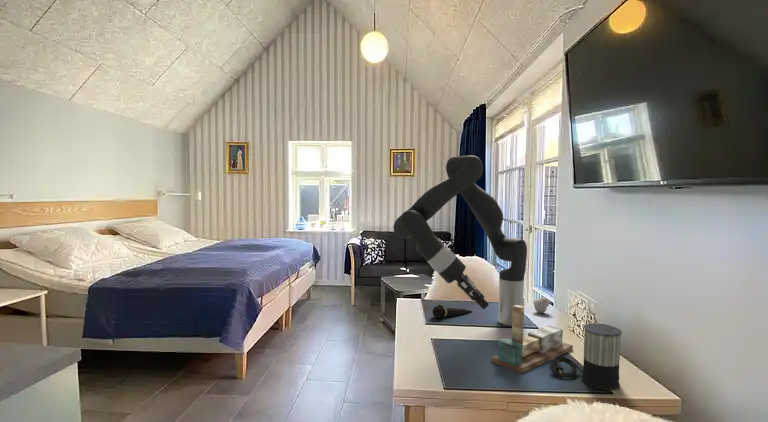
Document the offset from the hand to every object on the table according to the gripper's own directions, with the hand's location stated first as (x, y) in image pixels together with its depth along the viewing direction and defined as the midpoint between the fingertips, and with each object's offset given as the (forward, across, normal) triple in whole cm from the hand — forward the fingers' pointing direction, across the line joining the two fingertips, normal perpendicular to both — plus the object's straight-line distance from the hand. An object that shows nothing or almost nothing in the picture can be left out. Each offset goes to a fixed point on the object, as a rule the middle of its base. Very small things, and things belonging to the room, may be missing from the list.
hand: (484, 303), depth 123 cm
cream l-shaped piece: (+20, +4, +1) cm, 21 cm away
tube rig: (+24, +7, +1) cm, 25 cm away
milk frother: (+31, -8, -6) cm, 33 cm away
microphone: (+9, +45, +17) cm, 49 cm away
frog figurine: (+35, +55, -10) cm, 66 cm away
